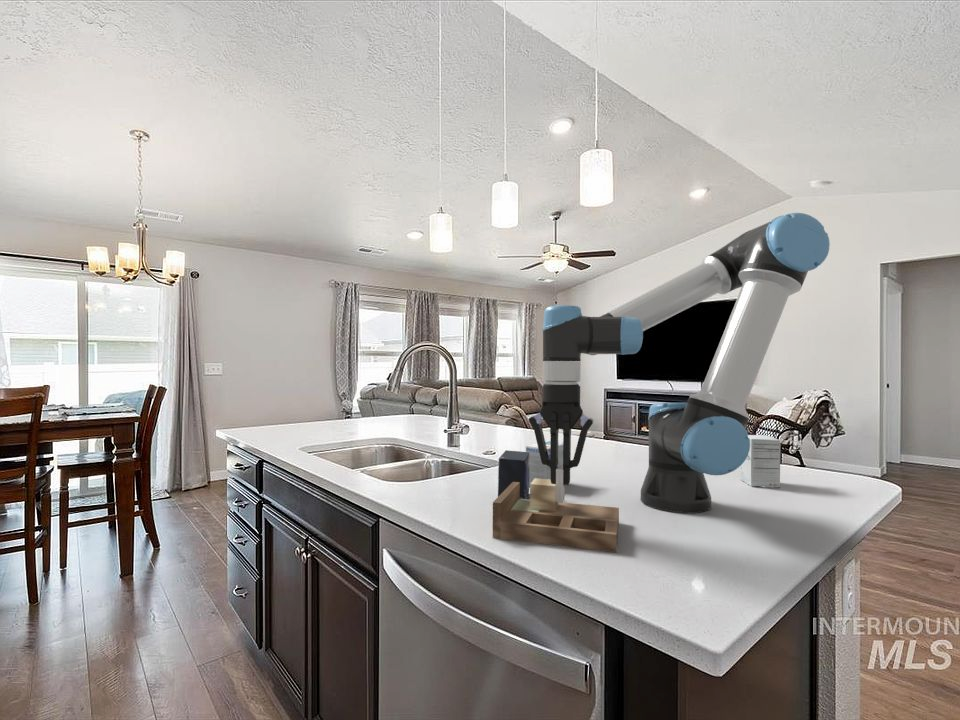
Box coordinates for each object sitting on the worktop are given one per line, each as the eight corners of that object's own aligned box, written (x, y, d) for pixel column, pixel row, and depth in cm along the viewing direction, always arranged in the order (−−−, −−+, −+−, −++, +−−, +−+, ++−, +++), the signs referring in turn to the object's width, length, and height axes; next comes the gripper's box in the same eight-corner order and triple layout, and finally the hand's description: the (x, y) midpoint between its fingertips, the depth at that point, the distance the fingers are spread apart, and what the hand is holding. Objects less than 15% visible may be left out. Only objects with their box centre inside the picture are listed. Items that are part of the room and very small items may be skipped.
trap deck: (618, 522, 100) (619, 490, 100) (616, 552, 84) (616, 514, 84) (512, 511, 106) (512, 481, 106) (492, 537, 91) (492, 502, 91)
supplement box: (739, 480, 136) (739, 434, 136) (768, 481, 135) (768, 435, 134) (750, 487, 128) (750, 438, 128) (781, 488, 127) (781, 439, 127)
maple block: (558, 504, 102) (558, 480, 102) (555, 511, 97) (555, 486, 97) (534, 502, 103) (534, 478, 103) (529, 509, 98) (530, 484, 98)
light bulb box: (544, 479, 136) (544, 439, 135) (566, 482, 132) (567, 442, 132) (524, 487, 127) (524, 445, 127) (547, 491, 123) (548, 448, 123)
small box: (525, 506, 111) (525, 459, 110) (496, 504, 112) (497, 458, 112) (530, 493, 121) (530, 450, 121) (504, 492, 122) (504, 449, 122)
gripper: (595, 383, 101) (594, 498, 101) (532, 381, 104) (531, 493, 104) (592, 384, 94) (591, 509, 94) (525, 383, 97) (524, 502, 97)
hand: (560, 500), depth 99 cm, fingers closed
